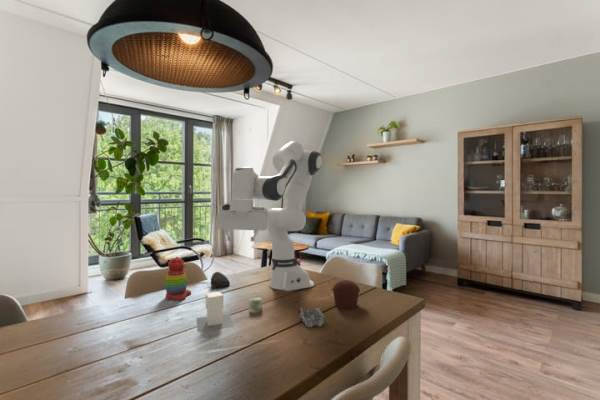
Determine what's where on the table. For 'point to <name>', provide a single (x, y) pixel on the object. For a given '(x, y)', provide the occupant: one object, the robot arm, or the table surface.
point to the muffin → (346, 294)
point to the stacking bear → (176, 280)
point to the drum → (255, 305)
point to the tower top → (214, 301)
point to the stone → (219, 280)
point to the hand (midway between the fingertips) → (241, 240)
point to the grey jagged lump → (312, 317)
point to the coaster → (204, 326)
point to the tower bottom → (214, 317)
